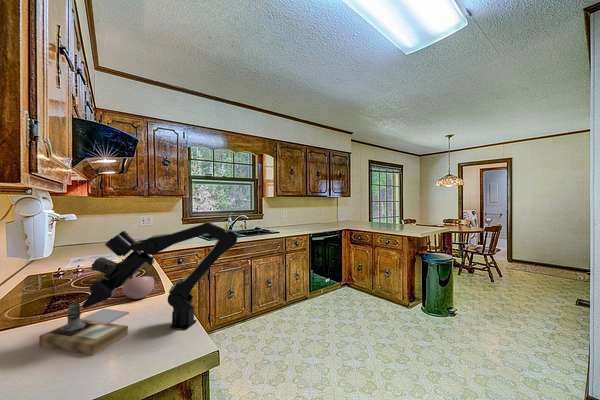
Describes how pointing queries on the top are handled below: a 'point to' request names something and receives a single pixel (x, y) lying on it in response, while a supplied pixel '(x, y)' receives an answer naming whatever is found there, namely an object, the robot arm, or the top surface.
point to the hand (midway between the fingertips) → (89, 301)
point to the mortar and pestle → (138, 286)
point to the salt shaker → (73, 320)
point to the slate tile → (105, 315)
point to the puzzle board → (85, 337)
